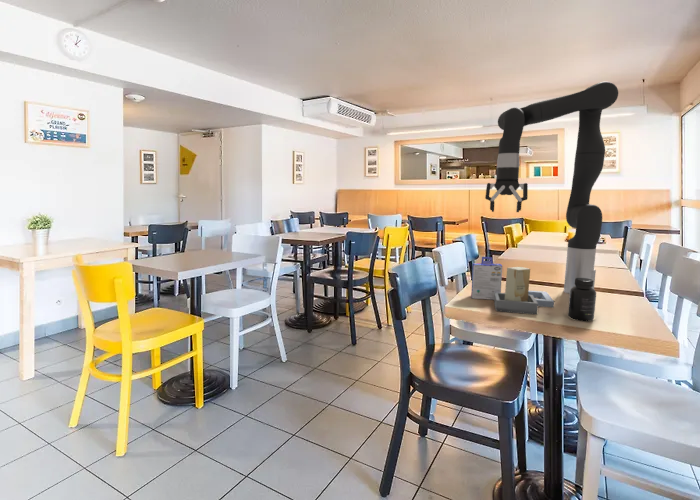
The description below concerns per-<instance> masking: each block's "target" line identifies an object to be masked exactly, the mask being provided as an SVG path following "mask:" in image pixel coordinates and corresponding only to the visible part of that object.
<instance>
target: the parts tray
mask: <svg viewBox="0 0 700 500" xmlns="http://www.w3.org/2000/svg"><path fill="white" fill-rule="evenodd" d="M536 299H537V298H534V296H533V295H528V302H522V301H509V300H505V292H501V293H497V292H495V293H494V300H493V303H494V309H495V312H501V313H514V314H524V315H525V314H526V315H527V314H528V315H538V309H539V308H538V307H539V306H538V303H537V301H536Z"/></svg>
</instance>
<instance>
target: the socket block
mask: <svg viewBox="0 0 700 500" xmlns="http://www.w3.org/2000/svg"><path fill="white" fill-rule="evenodd" d="M528 295H533V296H534V298H535V299H536V301H537V303H538V307H541V308H543V307H545V308H554V307H555V301H554V300H553V298H552V296H550V294H549V293H548V292H547V291H543V290H542V291H541V290H529V291H528Z"/></svg>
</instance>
